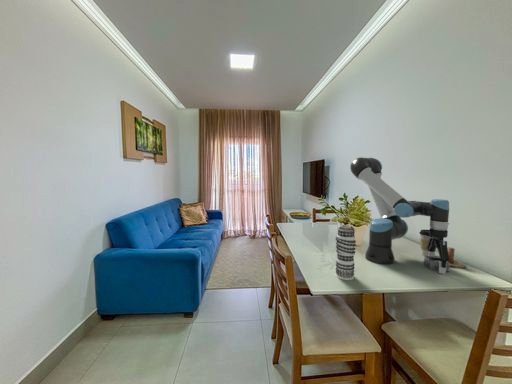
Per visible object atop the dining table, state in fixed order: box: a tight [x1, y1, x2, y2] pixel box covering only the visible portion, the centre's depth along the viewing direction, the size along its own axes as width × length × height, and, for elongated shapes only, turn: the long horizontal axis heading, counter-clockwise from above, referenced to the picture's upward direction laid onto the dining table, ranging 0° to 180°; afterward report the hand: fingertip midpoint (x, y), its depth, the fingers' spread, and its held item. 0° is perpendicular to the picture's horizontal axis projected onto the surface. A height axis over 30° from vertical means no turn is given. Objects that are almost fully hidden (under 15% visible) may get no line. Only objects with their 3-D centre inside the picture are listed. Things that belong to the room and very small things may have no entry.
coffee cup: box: [418, 229, 437, 257], centre depth 142 cm, size 10×10×15 cm
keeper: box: [447, 246, 467, 269], centre depth 128 cm, size 10×10×9 cm
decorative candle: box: [335, 224, 357, 281], centre depth 112 cm, size 9×9×25 cm
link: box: [423, 255, 450, 273], centre depth 123 cm, size 8×8×5 cm
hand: (436, 268), depth 123 cm, fingers open, 13 cm apart
